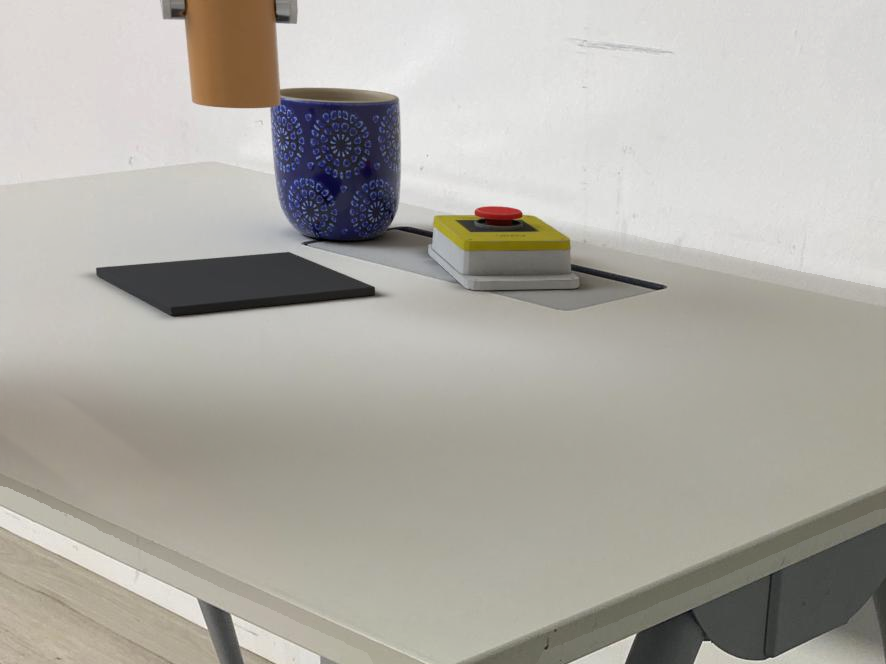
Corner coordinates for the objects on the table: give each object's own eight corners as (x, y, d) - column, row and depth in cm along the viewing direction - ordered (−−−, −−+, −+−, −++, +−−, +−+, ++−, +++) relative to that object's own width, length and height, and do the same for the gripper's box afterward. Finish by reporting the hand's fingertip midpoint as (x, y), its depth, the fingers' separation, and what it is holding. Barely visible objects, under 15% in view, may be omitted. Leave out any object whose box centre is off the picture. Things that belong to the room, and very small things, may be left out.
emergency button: (531, 196, 122) (585, 229, 110) (529, 250, 125) (582, 288, 113) (424, 196, 120) (468, 230, 108) (425, 251, 122) (468, 290, 110)
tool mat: (171, 316, 98) (170, 307, 98) (96, 275, 108) (95, 267, 107) (375, 294, 107) (375, 286, 107) (289, 259, 116) (289, 251, 116)
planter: (255, 227, 127) (245, 88, 121) (361, 219, 133) (356, 86, 127) (318, 250, 120) (310, 103, 114) (426, 240, 126) (425, 100, 120)
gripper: (39, -211, 92) (62, -29, 90) (354, -186, 98) (386, -16, 96) (49, -128, 98) (72, 45, 96) (346, -110, 104) (375, 53, 101)
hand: (231, 15), depth 96 cm, fingers closed on pliers tin, 6 cm apart
